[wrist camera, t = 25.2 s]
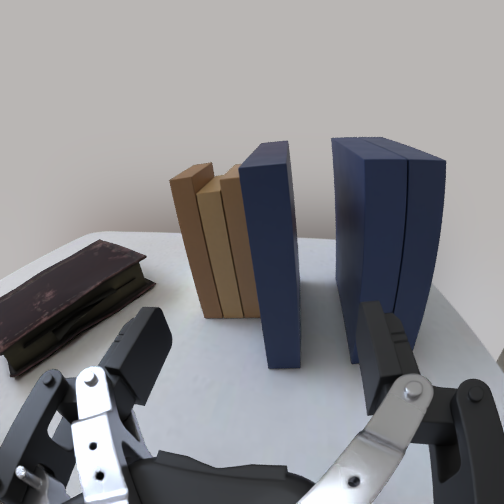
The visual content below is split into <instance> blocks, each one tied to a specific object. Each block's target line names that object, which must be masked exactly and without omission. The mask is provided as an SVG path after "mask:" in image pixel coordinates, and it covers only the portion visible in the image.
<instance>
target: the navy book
mask: <svg viewBox="0 0 504 504" xmlns="http://www.w3.org/2000/svg"><path fill="white" fill-rule="evenodd" d="M238 172H239V178H240V185H241V192H242V198H243V205H244V211H245V218H246V225H247V231H248V238H249V244H250V251H251V258H252V264H253V271H254V277H255V284H256V291H257V297H258V304H259V310H260V317H261V323H262V330H263V336H264V343H265V349H266V356H267V362H268V368H269V369H278V368H300V352H301V323H300V275H299V258H298V243H297V229H296V218H295V205H294V193H293V183H292V172H291V163H290V153H289V144H288V141H279V142H268V143H261V144H260V145H259V146H258V148H256V150H255V151H254V152H253V153H252V154H251V155H250V156H249V157H248V158H247V159H246V160H245V161H244V162H243V163H242V164H241V166H240V167H239V168H238Z"/></svg>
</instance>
